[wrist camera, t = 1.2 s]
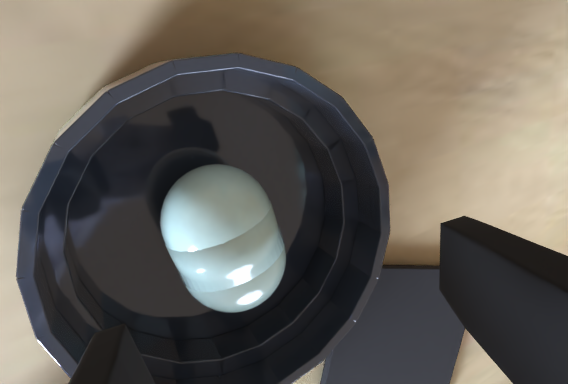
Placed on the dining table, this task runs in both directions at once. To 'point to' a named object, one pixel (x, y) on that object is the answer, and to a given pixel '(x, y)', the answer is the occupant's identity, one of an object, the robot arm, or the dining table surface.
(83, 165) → the basin
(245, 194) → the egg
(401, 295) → the mat
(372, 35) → the dining table surface
